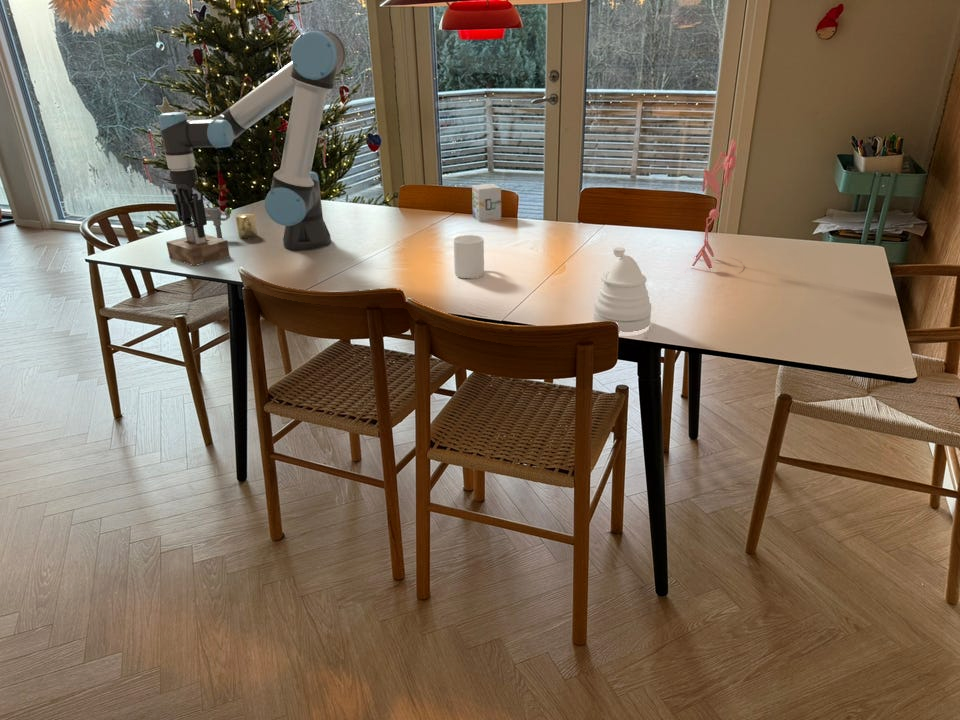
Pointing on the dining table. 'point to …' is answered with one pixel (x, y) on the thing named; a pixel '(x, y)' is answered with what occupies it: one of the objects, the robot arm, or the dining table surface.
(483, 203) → the ink box
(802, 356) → the dining table surface
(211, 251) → the bore block
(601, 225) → the dining table surface
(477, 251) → the mug
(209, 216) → the mechanical component
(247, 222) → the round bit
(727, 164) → the pink branching twig
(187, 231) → the square bit
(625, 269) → the honey pot
